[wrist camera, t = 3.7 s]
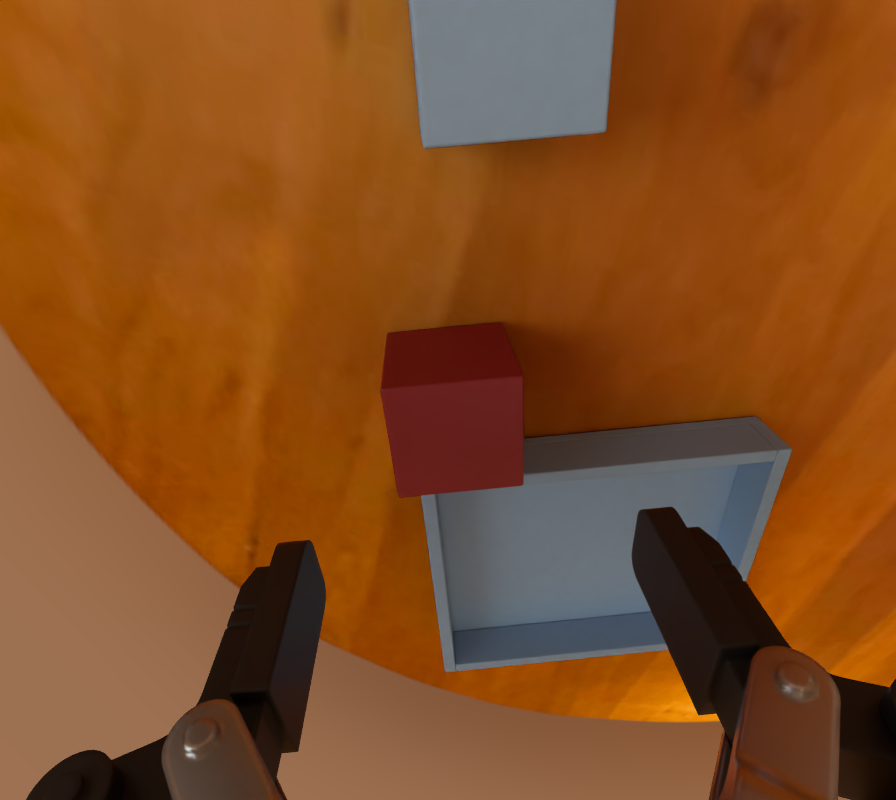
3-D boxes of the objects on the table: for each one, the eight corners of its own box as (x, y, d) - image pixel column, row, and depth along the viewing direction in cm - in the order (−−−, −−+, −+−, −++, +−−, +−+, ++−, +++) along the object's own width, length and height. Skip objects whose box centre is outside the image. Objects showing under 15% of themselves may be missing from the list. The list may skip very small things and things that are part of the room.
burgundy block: (401, 427, 22) (398, 499, 18) (386, 331, 19) (379, 389, 15) (504, 418, 22) (524, 486, 18) (502, 321, 19) (524, 375, 15)
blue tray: (442, 630, 29) (445, 672, 27) (418, 448, 22) (419, 485, 20) (701, 604, 29) (724, 644, 27) (756, 415, 22) (793, 448, 20)
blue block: (420, 137, 16) (423, 149, 12) (403, -48, 14) (399, -108, 10) (560, 125, 16) (607, 132, 12) (567, -62, 14) (628, -126, 10)
